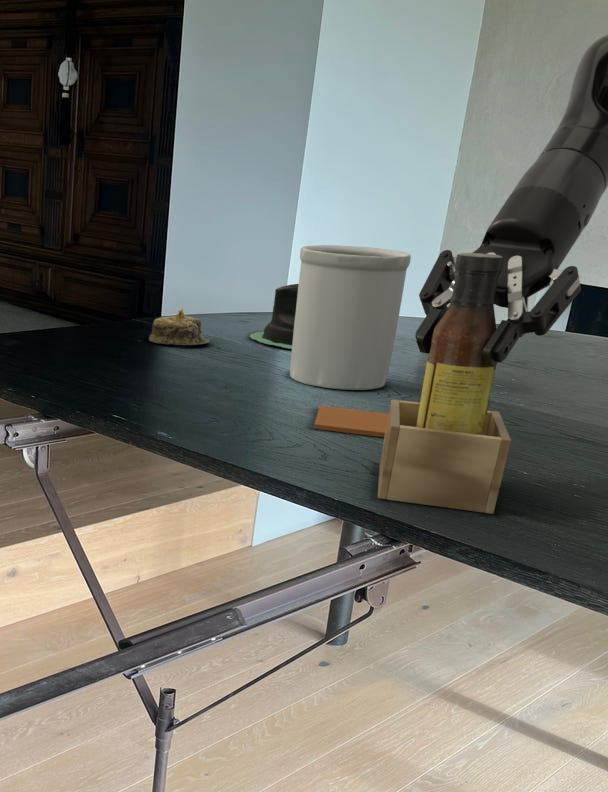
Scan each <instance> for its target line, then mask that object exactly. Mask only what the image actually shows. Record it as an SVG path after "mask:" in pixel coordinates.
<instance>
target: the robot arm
mask: <svg viewBox="0 0 608 792" xmlns="http://www.w3.org/2000/svg"><path fill="white" fill-rule="evenodd" d="M607 189H608V33H607V34H606V35H605V34H604V35H602V36H601V37H599V38H597V40H595V41H594V42H593V43H591V44H590V46H589V47H588V48H587V49H586V50H585V52H583V55H582V56H581V58H580V60H579V62H578V64H577V67H576V70H575V73H574V76H573V79H572V83H571V87H570V90H569V95H568V98H567V103H566V106H565V109H564V112H563V113H562V117H561V119H560V121H559V124H558V126H557V127H556V129H555V131H554V132H553V134H552V135H551V137H550V139H549V140H548V141H547V143H546V145H545V146H544V148H543V150H542V151H541V152H540V154H539V155H538V157H537V159H536V160H535V161H534V162H533V164H532V165H531V166H530V167H529V168H528V169H527V170H526V171H525V173H524V174H523V175H522V177H520V179H519V181H518V183H517V184H516V185H515V186H514V188H513V190H512V191H511V193H510V195H509V196H508V198H507V199H506V200H505V202H504V203H503V205H502V206H501V208H500V210H499V211H498V213H497V214H496V216H495V217H494V218H493V220H492V222H491V223H490V225H489V226H488V228H487V230H486V232H485V234H484V236H483V238H482V242H481V244H480V246H479V247H478V248H477V249H475V250H474V251H472V253H480V254H491V255H499V256H502V257H503V266H502V271H501V273H500V275H499V276H498V282H497V287H496V292H495V297H494V306H495V305H496V306H498V307H500V308H505V309H507V319H506V320H505V319H502V320H501V321H500V323H499V324H498V326H496V330H495V332H494V333H493V335H492V337H491V338H490V340H489V341H488V343H487V344H486V346H485V347H484V349H483V352H482V356H483V359H484V363H485V365H486V366H489V367H495V366H496V367H497V364H498V363H502V362H504V361H505V360H506V359H507V358H508V356H509V354H510V352H511V351H512V349H514V346H515V345H516V343H517V342H518V340H519V339H520V338H522V337H524V336H525V335H526V334H532V333H534V335H535V336H537V337H538V336H539V337H540V336H545V335H546V334H547V333H548V332H549V331H550V330H551V328H552V327H553V326H554V325H555V324H556V322H557V321H558V320H559V319H560V317H561V316H562V315H563V313H564V312H565V311H566V310H567V309H568V307H569V306H571V304H572V302H573V301H574V300H575V299H576V297H577V296H578V295H579V294H580V292H581V291H582V289H581V288H582V287H581V282H580V280H581V279H580V275H579V270H578V267H577V266H575V265H570V266H567V267H565V268H564V269H563V270H562V269H559V268H560V266H561V265H562V263H563V262H564V261H565V259H566V257H567V256H568V254H569V253H570V251H571V250H572V248H573V247H574V245H575V243H576V242H577V240H578V239H579V237H580V236H581V234H582V233H583V231H584V230H585V228H586V227H587V226H588V224H589V222H590V220H591V219H592V217H593V215H594V214H595V211H596V210H597V207H598V205H599V202H600V200H601V198H602V197H603V194H604V193H605V192H606V190H607ZM456 258H457V256H454V255H453V253H452V250H450V249H446V250H443V251H441V252H440V253H439V255H438V257H437V259H436V261H435V263H434V264H433V266H432V269H430V272H429V275H428V276H427V278H426V280H425V282H424V284H423V286H422V288H421V290H420V292H419V294H418V297H419V300H420V302H421V305H422V309H423V311H424V315H426V316H425V317H424V319H423V320H422V322H421V323H420V325H419V326H418V328H417V329H416V331H415V334H414V337H415V340H416V344H417V347H418V351H419V353H422V354H427V355H429V354H430V348H431V342H432V341H431V339H432V335H433V332H434V328H435V326H436V325H437V324H438V322H439V321H440V320H441V319H442V317H443V316H444V315H445V313H446V311H447V309H448V308H449V305H450V302H451V297H452V294H453V289H454V283H455V277H456V271H455V263H456ZM548 287H549V288H548ZM545 288H547V290H546V291H545V292H544V294H543V295H542V296H541V297H540V298H539V300H538V301H537V302H536V303H535V305H534V306H533V307H532V309H531V310H530V311H529V298H530V297H531V296H533V295H535V294H537V293H538V292H540V291H542V290H544V289H545Z"/></svg>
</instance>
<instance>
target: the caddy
mask: <svg viewBox="0 0 608 792" xmlns="http://www.w3.org/2000/svg"><path fill="white" fill-rule="evenodd" d="M419 406H420V401H419V402H418V401H409V400H402V399H400V400H399V399H393V398H392V399H391V400H390V405H389V411H388V414H389V415H388V421H387V426H386V431H385V437H383V443H382V447H381V454H380V460H379V464H378V485H377V487H378V488H377V499H379V500H386V501H387V500H388V501H392V502H393V501H394V502H400V503H401V502H402V503H409V504H416V505H424V506H430V507H438V508H444V509H445V508H446V509H454V510H459V511H461V510H462V511H468V512H474V513H483V514H490V515H493V514H494V513H495V509H496V506H497V501H498V497H499V492H500V488H501V485H502V481H503V476H504V473H505V468H506V464H507V459H508V456H509V453H510V447H511V444H512V439H511V436H510V434H509V432H508V430H507V427H506V424H505V423H504V421H503V418H502V415H501V412H500V411H495V410H488V411H487V415H486V420H485V426H484V431H483V435H477V434H469V433H461V432H453V431H444V430H436V429H428V428H420V427H416V424H417V419H418V412H419Z"/></svg>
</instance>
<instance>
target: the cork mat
mask: <svg viewBox="0 0 608 792" xmlns="http://www.w3.org/2000/svg"><path fill="white" fill-rule="evenodd" d="M388 415H389V413H386V412H378V411H369V410H362V409H352V408H345V407H344V408H343V407H336V406H327V405H319V407H318V411H317V414H316V417H315V418H316V419H315V421H314V425H313V429H315V430H320V431H328V432H336V433H343V434H344V433H345V434H352V435H360V436H368V437H377V438H384V437H385V431H386V426H387V421H388Z"/></svg>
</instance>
